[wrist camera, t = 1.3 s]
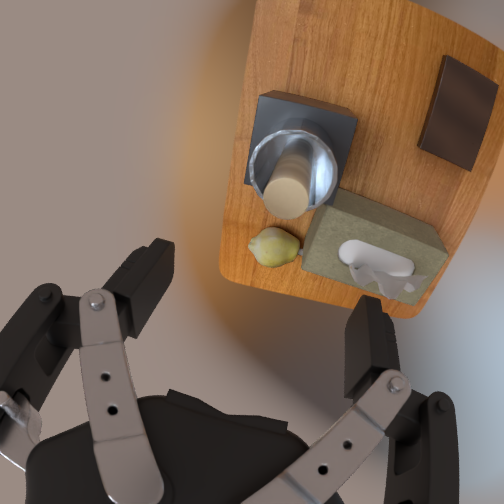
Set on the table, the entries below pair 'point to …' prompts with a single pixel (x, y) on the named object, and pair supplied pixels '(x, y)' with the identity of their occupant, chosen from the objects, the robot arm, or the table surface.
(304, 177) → the stick
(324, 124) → the stand
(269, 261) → the fruit
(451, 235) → the table surface
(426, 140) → the board
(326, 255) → the tissue box
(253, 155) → the tin
